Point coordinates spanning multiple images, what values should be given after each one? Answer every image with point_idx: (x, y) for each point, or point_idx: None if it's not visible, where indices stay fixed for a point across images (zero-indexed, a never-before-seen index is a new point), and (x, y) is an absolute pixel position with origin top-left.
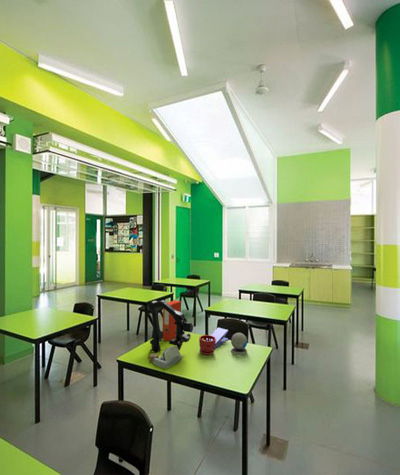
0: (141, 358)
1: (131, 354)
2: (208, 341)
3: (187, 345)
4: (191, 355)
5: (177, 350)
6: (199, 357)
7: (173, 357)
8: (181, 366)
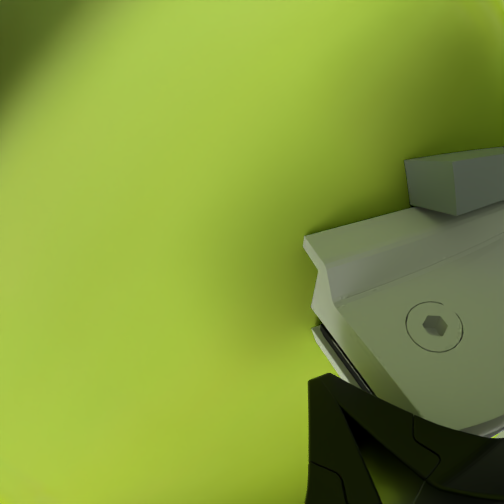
0: None
1: None
2: None
3: (20, 452)
4: (91, 181)
5: (422, 350)
6: (54, 33)
7: (483, 240)
8: (459, 38)
